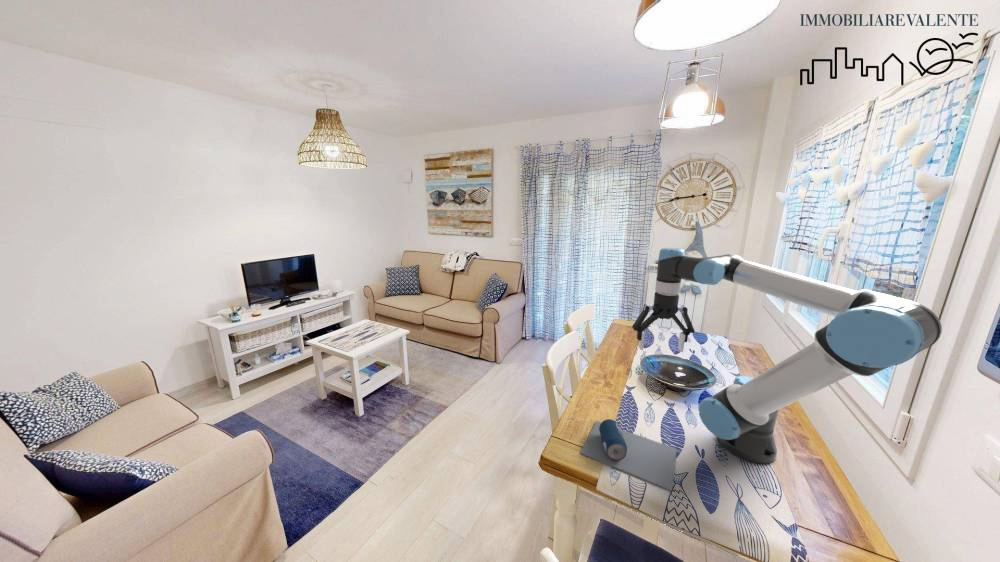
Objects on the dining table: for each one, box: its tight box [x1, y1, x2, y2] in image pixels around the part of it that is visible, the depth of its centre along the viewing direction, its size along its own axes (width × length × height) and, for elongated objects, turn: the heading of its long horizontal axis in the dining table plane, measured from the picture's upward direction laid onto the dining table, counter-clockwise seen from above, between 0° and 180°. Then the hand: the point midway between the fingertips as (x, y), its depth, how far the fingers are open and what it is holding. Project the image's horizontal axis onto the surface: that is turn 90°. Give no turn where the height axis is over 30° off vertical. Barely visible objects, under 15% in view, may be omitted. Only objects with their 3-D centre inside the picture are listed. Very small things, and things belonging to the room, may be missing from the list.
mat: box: [580, 420, 678, 492], centre depth 101 cm, size 26×18×1 cm
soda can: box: [599, 418, 627, 460], centre depth 101 cm, size 7×7×12 cm
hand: (660, 349), depth 113 cm, fingers open, 13 cm apart
